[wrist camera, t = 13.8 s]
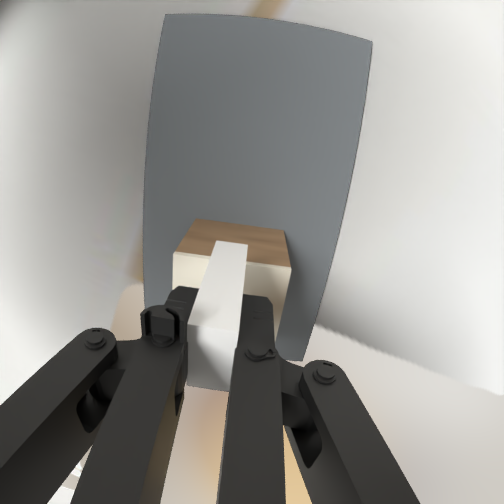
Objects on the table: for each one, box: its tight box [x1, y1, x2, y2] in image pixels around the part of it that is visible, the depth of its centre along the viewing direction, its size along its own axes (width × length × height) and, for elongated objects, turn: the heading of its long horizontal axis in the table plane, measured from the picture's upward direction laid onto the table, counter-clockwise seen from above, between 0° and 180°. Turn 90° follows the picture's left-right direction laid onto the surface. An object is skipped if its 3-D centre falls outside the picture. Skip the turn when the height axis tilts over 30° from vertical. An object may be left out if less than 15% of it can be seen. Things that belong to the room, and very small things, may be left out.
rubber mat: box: [143, 14, 372, 361], centre depth 24 cm, size 30×16×1 cm, turn 172°
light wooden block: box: [172, 218, 291, 341], centre depth 23 cm, size 7×7×7 cm
